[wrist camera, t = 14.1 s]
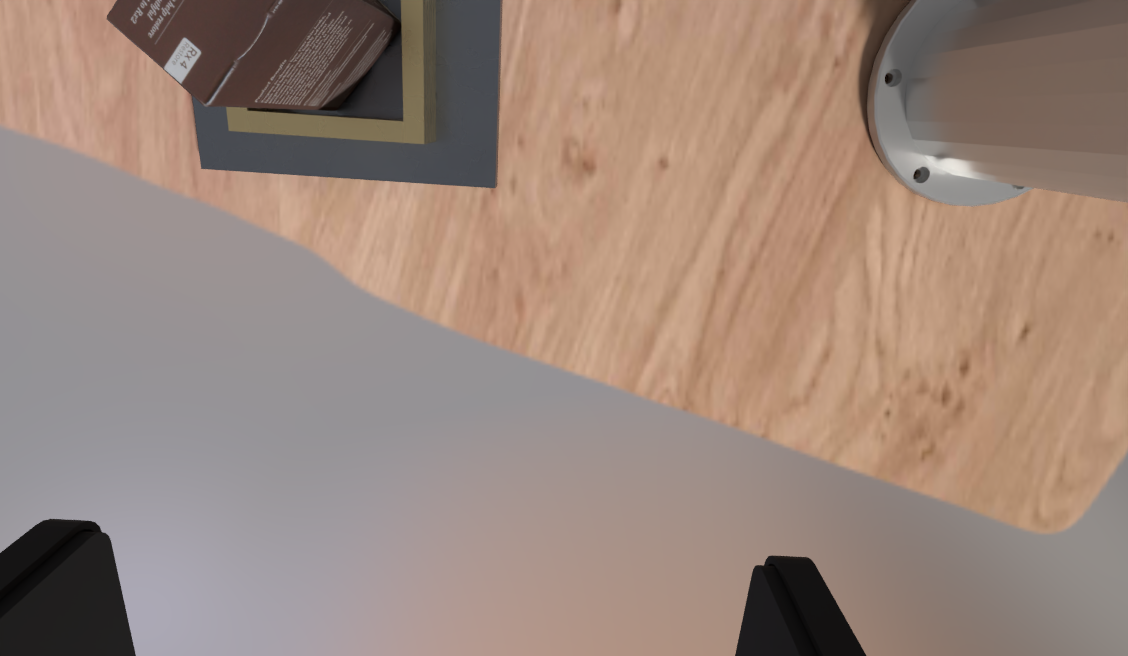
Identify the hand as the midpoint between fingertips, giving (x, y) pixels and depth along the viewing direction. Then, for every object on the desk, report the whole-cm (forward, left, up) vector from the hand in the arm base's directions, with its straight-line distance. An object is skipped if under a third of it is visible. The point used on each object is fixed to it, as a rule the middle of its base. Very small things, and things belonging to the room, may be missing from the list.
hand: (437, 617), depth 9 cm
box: (+10, -10, -28) cm, 31 cm away
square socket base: (+10, -10, -28) cm, 32 cm away
